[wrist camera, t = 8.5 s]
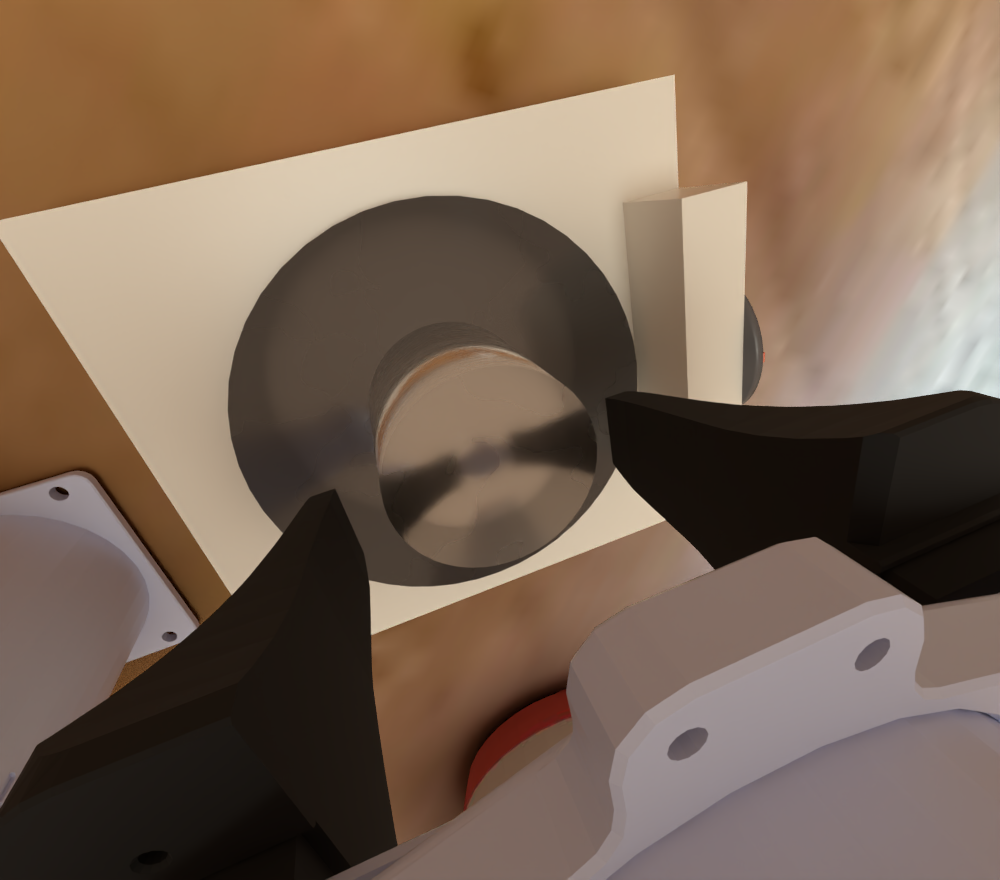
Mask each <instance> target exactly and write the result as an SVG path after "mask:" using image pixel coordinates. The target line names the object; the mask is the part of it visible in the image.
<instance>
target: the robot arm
mask: <svg viewBox="0 0 1000 880" xmlns="http://www.w3.org/2000/svg"><path fill="white" fill-rule="evenodd" d="M605 403H606V411H607V419H608V427H609V436H610V444H611V452H612V461H613V464H614V466H615V467H616V468H617V470H618V471H619V472H620V474H621V475H622V476H623V478H624V479H625V480H626V481H627V483H628V484H629V485H630V486H631V487H632V489H633V490H634V491H635V492H636V493H637V494H638V495H639V496H641V497H642V498H643V499H644V500H645V501H646V502H647V503H648V504H649V505H650V506H651V507H652V508H653V509H654V510H655V511H657V512H658V513H659V514H660V515H661V516H662V517H663V518H664V519H665V520H666V521H667V522H668V523H670V524H671V525H672V526H673V527H674V528H675V529H676V530H677V531H678V532H679V533H680V534H682V535H683V536H684V537H685V538H686V539H687V540H688V541H689V542H690V543H691V544H692V545H693V546H694V547H695V548H696V549H697V550H698V551H699V552H700V553H701V554H702V555H703V557H704V558H705V559H706V560H707V561H708V562H709V564H710V565H711V566H712V567H713V568H714V569H715V570H714V571H711V572H709V573H706V574H704V575H702V576H699V577H697V578H694V579H692V580H690V581H687V582H685V583H683V584H680V585H678V586H675V587H673V588H671V589H668V590H666V591H663V592H661V593H659V594H656V595H654V596H651V597H649V598H647V599H644V600H642V601H640V602H637V603H635V604H632V605H630V606H628V607H626V608H624V609H623V610H621V611H620V612H618V613H616V614H615V615H613V616H612V617H610V618H609V619H607V620H606V621H604V622H603V623H601V624H600V625H598V626H596V627H595V628H594V629H593V631H592V632H591V633H590V635H589V636H588V637H587V639H586V640H585V641H584V643H583V644H582V645H581V647H580V648H579V650H578V651H577V652H576V654H575V655H574V656H573V658H572V660H571V662H570V667H569V675H568V682H567V689H566V695H567V699H568V703H569V708H570V712H571V716H572V723H573V732H571V733H570V734H569V735H567V736H566V737H565V738H563V739H562V740H560V741H559V742H558V743H556V744H555V745H554V746H552V747H551V748H550V749H548V750H547V751H545V752H544V753H543V754H541V755H540V756H539V757H537V758H536V759H535V760H533V761H532V762H530V763H529V764H528V765H526V766H525V767H524V768H522V769H521V770H520V771H518V772H517V773H515V774H514V775H513V776H511V777H510V778H509V779H507V780H506V781H505V782H503V783H502V784H500V785H499V786H498V787H496V788H495V789H494V790H492V791H491V792H490V793H488V794H487V795H486V796H484V797H483V798H481V799H480V800H479V801H477V802H476V803H475V804H473V805H472V806H471V807H469V808H468V809H466V810H465V811H464V812H462V813H461V814H460V815H458V816H457V817H456V818H454V819H453V820H451V821H449V822H447V823H445V824H443V825H441V826H439V827H437V828H434V829H432V830H430V831H428V832H426V833H424V834H422V835H420V836H417V837H415V838H413V839H411V840H409V841H407V842H405V843H403V844H400V845H398V846H397V840H396V835H395V829H394V823H393V817H392V811H391V805H390V799H389V793H388V787H387V781H386V775H385V769H384V762H383V755H382V748H381V742H380V735H379V728H378V721H377V713H376V706H375V698H374V691H373V680H372V656H371V607H370V585H369V579H368V572H367V567H366V561H365V555H364V552H363V550H362V547H361V545H360V543H359V541H358V538H357V536H356V534H355V532H354V530H353V527H352V525H351V523H350V521H349V518H348V516H347V514H346V512H345V509H344V507H343V505H342V503H341V500H340V498H339V496H338V494H337V492H336V489H332V490H329V491H326V492H323V493H320V494H317V495H314V496H311V497H309V498H308V500H307V501H306V502H305V503H304V505H303V506H302V507H301V509H300V510H299V512H298V513H297V514H296V516H295V517H294V519H293V520H292V522H291V523H290V524H289V526H288V527H287V528H286V530H285V531H284V533H283V534H282V535H281V537H280V538H279V539H278V541H277V542H276V544H275V545H274V546H273V548H272V549H271V550H270V551H269V552H268V554H267V555H266V556H265V557H264V559H263V560H262V561H261V562H260V564H259V565H258V566H257V567H256V568H255V570H254V571H253V572H252V573H251V575H250V576H249V577H248V578H247V579H246V580H245V581H244V583H243V584H242V585H241V586H240V587H239V588H238V589H237V590H236V591H235V592H234V593H233V594H232V595H231V596H230V597H229V598H228V599H227V600H226V601H225V602H224V603H223V605H222V606H221V607H220V608H219V609H218V610H216V611H215V612H214V613H213V614H212V615H211V616H210V617H209V618H208V619H207V620H206V621H204V622H203V623H202V624H201V625H200V626H199V622H198V620H197V619H196V617H195V616H194V615H193V613H192V612H191V610H190V609H189V608H188V606H187V605H186V604H185V602H184V601H183V599H182V598H181V597H180V595H179V594H178V592H177V591H176V590H175V588H174V587H173V585H172V584H171V583H170V581H169V580H168V578H167V577H166V576H165V574H164V573H163V572H162V570H161V569H160V567H159V566H158V565H157V563H156V562H155V560H154V559H153V558H152V556H151V555H150V553H149V552H148V551H147V549H146V548H145V546H144V545H143V544H142V542H141V541H140V540H139V538H138V537H137V535H136V534H135V533H134V531H133V530H132V528H131V527H130V526H129V524H128V523H127V521H126V520H125V519H124V517H123V516H122V514H121V513H120V512H119V510H118V509H117V508H116V506H115V505H114V503H113V502H112V501H111V499H110V498H109V496H108V495H107V494H106V492H105V491H104V489H103V488H102V487H101V485H100V484H99V482H98V481H97V480H96V479H95V478H94V477H93V476H92V475H91V474H89V473H87V472H84V471H71V472H68V473H64V474H61V475H58V476H55V477H51V478H48V479H45V480H41V481H38V482H35V483H31V484H28V485H25V486H21V487H18V488H15V489H11V490H8V491H5V492H1V493H0V880H1000V399H999V398H995V397H991V396H987V395H984V394H980V393H976V392H972V391H962V390H959V391H952V392H945V393H939V394H932V395H926V396H919V397H913V398H906V399H900V400H892V401H882V402H872V403H863V404H851V405H837V406H811V407H773V406H749V405H736V404H727V403H717V402H709V401H701V400H694V399H687V398H680V397H674V396H667V395H661V394H654V393H646V392H636V391H625V392H622V393H619V394H616V395H613V396H610V397H607V398H605ZM55 487H62V488H64V489H66V490H67V491H68V493H69V495H63V494H60V493H59V492H57V491H56V489H55ZM167 632H174V633H176V634H168V633H167ZM178 643H180V644H178ZM176 644H178V645H177V646H176V647H175V648H174V649H173V650H171V651H170V652H169V653H168V654H166V655H165V656H164V657H163V658H161V659H160V660H159V661H157V662H156V663H155V664H154V665H152V666H151V667H150V668H149V669H147V670H146V671H145V672H143V673H142V674H141V675H139V676H138V677H136V678H135V679H134V680H132V681H131V682H130V683H128V684H127V685H126V686H124V687H123V688H122V689H120V690H119V691H117V692H116V693H115V694H113V695H112V696H110V694H111V692H112V690H113V688H114V686H115V684H116V682H117V680H118V678H119V676H120V674H121V671H122V669H123V667H124V665H125V663H127V662H129V661H132V660H135V659H137V658H140V657H143V656H146V655H148V654H151V653H154V652H157V651H159V650H162V649H165V648H167V647H170V646H173V645H176ZM109 696H110V697H109Z"/></svg>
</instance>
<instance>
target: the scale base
mask: <svg viewBox="0 0 1000 880" xmlns="http://www.w3.org/2000/svg"><path fill="white" fill-rule="evenodd" d="M423 196H464V197H472V198H479V199H486V200H491V201H494V202H498V203H501V204H504V205H508V206H511V207H515V208H518V209H520V210H522V211H524V212H526V213H529V214H531V215H533V216H535V217H537V218H539V219H541V220H544V221H545V222H547V223H548V224H550V225H551V226H553V227H554V228H556V229H557V230H559V231H560V232H562V233H563V234H565V235H566V236H568V237H569V238H570V239H571V240H572V241H573V242H574V243H575V244H577V245H578V246H579V247H580V248H581V249H582V250H583V251H584V252H585V253H587V254H588V256H589V257H590V258H591V259H592V260H593V262H594V263H595V264H596V265H597V266H598V268H599V269H600V270H601V271H602V272H603V274H604V275H605V277H606V278H607V280H608V282H609V283H610V285H611V287H612V288H613V290H614V291H615V293H616V295H617V297H618V299H619V301H620V303H621V306H622V308H623V310H624V313H625V315H626V317H627V320H628V324H629V327H630V331H631V334H632V338H633V342H634V348H635V355H636V362H637V392H646V393H654V394H661V395H667V396H674V397H680V398H687V399H694V400H701V401H709V402H717V403H727V404H736V405H742V404H744V403H745V402H746V401H747V400H749V398H750V397H751V396H752V395H753V393H754V391H755V390H756V388H757V386H758V383H759V380H760V377H761V372H762V366H763V362H765V352H763V344H762V337H761V332H760V327H759V324H758V321H757V318H756V315H755V313H754V311H753V308H752V306H751V304H750V303H749V301H748V299H747V297H746V296H745V295H744V293H745V252H746V210H747V181H745V182H735V183H725V184H715V185H705V186H695V187H684V188H678V162H677V133H676V105H675V76H674V75H671V76H666V77H661V78H657V79H652V80H647V81H643V82H638V83H634V84H629V85H624V86H620V87H615V88H610V89H606V90H601V91H596V92H592V93H587V94H583V95H578V96H573V97H569V98H564V99H559V100H555V101H550V102H545V103H541V104H536V105H532V106H527V107H522V108H518V109H513V110H508V111H504V112H499V113H494V114H490V115H485V116H481V117H476V118H471V119H467V120H462V121H457V122H453V123H448V124H444V125H439V126H434V127H430V128H425V129H420V130H416V131H411V132H406V133H402V134H397V135H393V136H388V137H383V138H379V139H374V140H369V141H365V142H360V143H355V144H351V145H346V146H342V147H337V148H332V149H328V150H323V151H318V152H314V153H309V154H304V155H300V156H295V157H291V158H286V159H281V160H277V161H272V162H267V163H263V164H258V165H253V166H249V167H244V168H240V169H235V170H230V171H226V172H221V173H216V174H212V175H207V176H202V177H198V178H193V179H189V180H184V181H179V182H175V183H170V184H165V185H161V186H156V187H151V188H147V189H142V190H138V191H133V192H128V193H124V194H119V195H114V196H110V197H105V198H100V199H96V200H91V201H87V202H82V203H77V204H73V205H68V206H63V207H59V208H54V209H49V210H45V211H40V212H36V213H31V214H26V215H22V216H17V217H12V218H8V219H3V220H0V239H1V241H2V242H3V244H4V245H5V247H6V249H7V250H8V252H9V253H10V255H11V256H12V258H13V259H14V261H15V262H16V264H17V265H18V267H19V269H20V270H21V272H22V273H23V275H24V276H25V278H26V279H27V281H28V282H29V284H30V285H31V287H32V289H33V290H34V292H35V293H36V295H37V296H38V298H39V299H40V301H41V302H42V304H43V306H44V307H45V309H46V310H47V312H48V313H49V315H50V316H51V318H52V319H53V321H54V322H55V324H56V326H57V327H58V329H59V330H60V332H61V333H62V335H63V336H64V338H65V339H66V341H67V342H68V344H69V346H70V347H71V349H72V350H73V352H74V353H75V355H76V356H77V358H78V359H79V361H80V362H81V364H82V366H83V367H84V369H85V370H86V372H87V373H88V375H89V376H90V378H91V379H92V381H93V383H94V384H95V386H96V387H97V389H98V390H99V392H100V393H101V395H102V396H103V398H104V399H105V401H106V403H107V404H108V406H109V407H110V409H111V410H112V412H113V413H114V415H115V416H116V418H117V419H118V421H119V423H120V424H121V426H122V427H123V429H124V430H125V432H126V433H127V435H128V436H129V438H130V440H131V441H132V443H133V444H134V446H135V447H136V449H137V450H138V452H139V453H140V455H141V456H142V458H143V460H144V461H145V463H146V464H147V466H148V467H149V469H150V470H151V472H152V473H153V475H154V476H155V478H156V480H157V481H158V483H159V484H160V486H161V487H162V489H163V490H164V492H165V493H166V495H167V497H168V498H169V500H170V501H171V503H172V504H173V506H174V507H175V509H176V510H177V512H178V513H179V515H180V517H181V518H182V520H183V521H184V523H185V524H186V526H187V527H188V529H189V530H190V532H191V533H192V535H193V537H194V538H195V540H196V541H197V543H198V544H199V546H200V547H201V549H202V550H203V552H204V553H205V555H206V557H207V558H208V560H209V561H210V563H211V564H212V566H213V567H214V569H215V570H216V572H217V574H218V575H219V577H220V578H221V580H222V581H223V583H224V584H225V586H226V587H227V589H228V590H229V592H230V594H231V595H232V594H233V593H234V592H235V591H236V590H237V589H238V588H239V587H240V586H241V585H242V584H243V583H244V581H245V580H246V579H247V578H248V577H249V576H250V575H251V573H252V572H253V571H254V570H255V568H256V567H257V566H258V565H259V564H260V562H261V561H262V560H263V559H264V557H265V556H266V555H267V554H268V552H269V551H270V550H271V549H272V548H273V546H274V545H275V544H276V542H277V541H278V539H279V538H280V537H281V535H282V534H283V533H282V532H281V531H280V530H279V529H278V527H277V526H276V525H275V524H274V523H273V522H272V521H271V519H270V518H269V517H268V516H267V515H266V514H265V513H264V511H263V510H262V508H261V507H260V505H259V504H258V502H257V500H256V499H255V497H254V496H253V494H252V493H251V491H250V490H249V487H248V485H247V483H246V481H245V479H244V476H243V474H242V472H241V470H240V468H239V465H238V462H237V458H236V455H235V451H234V448H233V444H232V441H231V435H230V426H229V418H228V386H229V377H230V372H231V367H232V362H233V356H234V351H235V349H236V346H237V343H238V340H239V338H240V335H241V332H242V329H243V327H244V324H245V321H246V320H247V318H248V316H249V314H250V312H251V311H252V309H253V307H254V305H255V303H256V302H257V300H258V298H259V296H260V294H261V293H262V292H263V290H264V289H265V288H266V286H267V285H268V284H269V283H270V281H271V280H272V279H273V277H274V276H275V275H276V274H277V272H278V271H279V270H280V268H281V267H282V266H283V265H285V264H286V263H287V262H288V261H289V260H290V259H291V258H292V257H293V256H294V255H295V254H296V253H297V252H298V251H299V250H300V249H301V248H302V247H304V246H305V245H306V244H307V243H309V242H310V241H312V240H313V239H314V238H316V237H317V236H319V235H320V234H322V233H323V232H325V231H326V230H327V229H329V228H330V227H332V226H333V225H335V224H337V223H340V222H342V221H344V220H346V219H348V218H350V217H352V216H354V215H356V214H358V213H360V212H362V211H365V210H368V209H371V208H374V207H377V206H380V205H384V204H387V203H390V202H393V201H398V200H404V199H411V198H417V197H423ZM663 521H665V519H664V518H663V517H662V516H661V515H660V514H659V513H658V512H657V511H655V510H654V509H653V508H652V507H651V506H650V505H649V504H648V503H647V502H646V501H645V500H644V499H643V498H642V497H641V496H639V495H638V494H637V493H636V492H635V491H634V490H633V489H632V487H631V486H630V485H629V484H628V483H627V481H626V480H625V479H624V478H623V476H622V475H621V474H620V472H619V471H618V470H617V468H615V470H614V472H613V474H612V476H611V477H610V479H609V481H608V482H607V484H606V486H605V487H604V489H603V491H602V492H601V493H600V495H599V496H598V497H597V499H596V500H595V501H594V502H593V504H592V505H591V506H590V508H589V509H588V510H587V511H586V512H585V513H584V514H583V515H582V516H581V518H580V519H579V520H578V521H577V522H576V523H575V524H574V525H573V526H572V527H571V528H569V529H568V530H567V531H566V532H565V533H564V534H562V535H561V536H560V537H559V538H558V539H557V540H555V541H554V542H552V543H551V544H550V545H548V546H547V547H545V548H544V549H543V550H541V551H540V552H538V553H536V554H535V555H533V556H531V557H529V558H528V559H526V560H524V561H522V562H521V563H519V564H516V565H514V566H512V567H510V568H507V569H505V570H503V571H501V572H498V573H495V574H492V575H489V576H486V577H483V578H480V579H476V580H472V581H467V582H462V583H458V584H451V585H442V586H430V587H409V586H399V585H389V584H384V583H379V582H375V581H370V580H369V585H370V607H371V635H372V634H375V633H378V632H380V631H383V630H385V629H388V628H390V627H393V626H396V625H398V624H401V623H403V622H406V621H408V620H411V619H414V618H416V617H419V616H421V615H424V614H426V613H429V612H432V611H434V610H437V609H439V608H442V607H444V606H447V605H449V604H452V603H455V602H457V601H460V600H462V599H465V598H467V597H470V596H473V595H475V594H478V593H480V592H483V591H485V590H488V589H491V588H493V587H496V586H498V585H501V584H503V583H506V582H509V581H511V580H514V579H516V578H519V577H521V576H524V575H526V574H529V573H532V572H534V571H537V570H539V569H542V568H544V567H547V566H550V565H552V564H555V563H557V562H560V561H562V560H565V559H568V558H570V557H573V556H575V555H578V554H580V553H583V552H586V551H588V550H591V549H593V548H596V547H598V546H601V545H603V544H606V543H609V542H611V541H614V540H616V539H619V538H621V537H624V536H627V535H629V534H632V533H634V532H637V531H639V530H642V529H645V528H647V527H650V526H652V525H655V524H657V523H660V522H663Z"/></svg>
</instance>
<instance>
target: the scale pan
mask: <svg viewBox="0 0 1000 880" xmlns="http://www.w3.org/2000/svg"><path fill="white" fill-rule="evenodd" d="M441 322H463V323H469V324H473V325H476V326H479V327H482V328H484V329H486V330H488V331H490V332H492V333H493V334H495V335H497V336H498V337H499V338H501V339H502V340H503V341H505V342H506V343H507V344H509V345H510V346H512V347H513V348H514V349H516V350H517V351H518V352H520V353H521V354H523V355H524V356H525V357H527V358H528V359H529V360H531V361H532V362H533V363H535V364H536V365H538V366H539V367H540V368H542V369H543V370H544V371H546V372H547V373H548V374H550V375H551V376H553V377H554V378H555V379H557V380H558V381H559V382H561V383H562V384H563V385H565V386H566V387H567V388H568V389H569V390H571V391H572V392H573V393H574V394H575V396H576V397H577V398H578V399H579V400H580V401H581V403H582V404H583V406H584V407H585V409H586V411H587V412H588V415H589V417H590V419H591V421H592V424H593V427H594V431H595V435H596V442H597V463H596V470H595V475H594V478H593V482H592V485H591V488H590V490H589V492H588V495H587V497H586V499H585V501H584V502H583V504H582V506H581V508H580V509H579V511H578V512H577V514H576V515H575V516H574V518H573V519H572V520H571V521H570V522H569V524H568V525H567V526H566V527H565V528H564V529H563V530H562V531H561V532H560V533H559V534H558V535H557V536H556V537H554V538H553V539H552V540H550V541H549V542H548V543H547V544H545V545H544V546H542V547H540V548H539V549H537V550H536V551H534V552H532V553H530V554H528V555H526V556H524V557H522V558H519V559H516V560H514V561H511V562H508V563H504V564H500V565H496V566H489V567H477V568H468V567H457V566H452V565H447V564H444V563H441V562H437V561H434V560H432V559H430V558H428V557H426V556H424V555H422V554H421V553H419V552H418V551H416V550H415V549H413V548H412V547H411V546H410V545H409V544H408V543H406V542H405V541H404V540H403V539H402V538H401V536H400V535H399V534H398V533H397V531H396V530H395V529H394V527H393V525H392V523H391V522H390V520H389V518H388V516H387V513H386V510H385V508H384V504H383V499H382V495H381V489H380V482H379V475H378V468H377V462H376V455H375V448H374V441H373V435H372V428H371V421H370V415H369V402H368V400H369V390H370V385H371V381H372V378H373V375H374V373H375V370H376V368H377V367H378V365H379V363H380V361H381V360H382V358H383V357H384V356H385V354H386V353H387V351H388V350H389V349H390V348H391V347H392V346H393V345H394V344H395V343H397V342H398V341H399V340H400V339H402V338H403V337H404V336H406V335H408V334H409V333H411V332H413V331H414V330H417V329H419V328H422V327H424V326H427V325H431V324H434V323H441ZM625 391H636V392H637V362H636V355H635V348H634V342H633V338H632V334H631V331H630V327H629V324H628V320H627V317H626V315H625V313H624V310H623V308H622V306H621V303H620V301H619V299H618V297H617V295H616V293H615V291H614V290H613V288H612V287H611V285H610V283H609V282H608V280H607V278H606V277H605V275H604V274H603V272H602V271H601V270H600V269H599V268H598V266H597V265H596V264H595V263H594V262H593V260H592V259H591V258H590V257H589V256H588V254H587V253H585V252H584V251H583V250H582V249H581V248H580V247H579V246H578V245H577V244H575V243H574V242H573V241H572V240H571V239H570V238H569V237H568V236H566V235H565V234H563V233H562V232H560V231H559V230H557V229H556V228H554V227H553V226H551V225H550V224H548V223H547V222H545V221H544V220H541V219H539V218H537V217H535V216H533V215H531V214H529V213H526V212H524V211H522V210H520V209H518V208H515V207H511V206H508V205H504V204H501V203H498V202H494V201H491V200H486V199H479V198H472V197H464V196H423V197H417V198H411V199H404V200H398V201H393V202H390V203H387V204H384V205H380V206H377V207H374V208H371V209H368V210H365V211H362V212H360V213H358V214H356V215H354V216H352V217H350V218H348V219H346V220H344V221H342V222H340V223H337V224H335V225H333V226H332V227H330V228H329V229H327V230H326V231H325V232H323V233H322V234H320V235H319V236H317V237H316V238H314V239H313V240H312V241H310V242H309V243H307V244H306V245H305V246H304V247H302V248H301V249H300V250H299V251H298V252H297V253H296V254H295V255H294V256H293V257H292V258H291V259H290V260H289V261H288V262H287V263H286V264H285V265H283V266H282V267H281V268H280V270H279V271H278V272H277V274H276V275H275V276H274V277H273V279H272V280H271V281H270V283H269V284H268V285H267V286H266V288H265V289H264V290H263V292H262V293H261V294H260V296H259V298H258V300H257V302H256V303H255V305H254V307H253V309H252V311H251V312H250V314H249V316H248V318H247V320H246V321H245V324H244V327H243V329H242V332H241V335H240V338H239V340H238V343H237V346H236V349H235V351H234V356H233V362H232V367H231V372H230V377H229V386H228V418H229V426H230V435H231V441H232V444H233V448H234V451H235V455H236V458H237V462H238V465H239V468H240V470H241V472H242V474H243V476H244V479H245V481H246V483H247V485H248V487H249V490H250V491H251V493H252V494H253V496H254V497H255V499H256V500H257V502H258V504H259V505H260V507H261V508H262V510H263V511H264V513H265V514H266V515H267V516H268V517H269V518H270V519H271V521H272V522H273V523H274V524H275V525H276V526H277V527H278V529H279V530H280V531H281V532H282V533H284V531H285V530H286V528H287V527H288V526H289V524H290V523H291V522H292V520H293V519H294V517H295V516H296V514H297V513H298V512H299V510H300V509H301V507H302V506H303V505H304V503H305V502H306V501H307V500H308V498H309V497H311V496H314V495H317V494H320V493H323V492H326V491H329V490H332V489H336V492H337V494H338V496H339V498H340V500H341V503H342V505H343V507H344V509H345V512H346V514H347V516H348V518H349V521H350V523H351V525H352V527H353V530H354V532H355V534H356V536H357V538H358V541H359V543H360V545H361V547H362V550H363V552H364V555H365V561H366V567H367V572H368V579H369V580H370V581H375V582H379V583H384V584H389V585H399V586H409V587H430V586H442V585H451V584H458V583H462V582H467V581H472V580H476V579H480V578H483V577H486V576H489V575H492V574H495V573H498V572H501V571H503V570H505V569H507V568H510V567H512V566H514V565H516V564H519V563H521V562H522V561H524V560H526V559H528V558H529V557H531V556H533V555H535V554H536V553H538V552H540V551H541V550H543V549H544V548H545V547H547V546H548V545H550V544H551V543H552V542H554V541H555V540H557V539H558V538H559V537H560V536H561V535H562V534H564V533H565V532H566V531H567V530H568V529H569V528H571V527H572V526H573V525H574V524H575V523H576V522H577V521H578V520H579V519H580V518H581V516H582V515H583V514H584V513H585V512H586V511H587V510H588V509H589V508H590V506H591V505H592V504H593V502H594V501H595V500H596V499H597V497H598V496H599V495H600V493H601V492H602V491H603V489H604V487H605V486H606V484H607V482H608V481H609V479H610V477H611V476H612V474H613V472H614V470H615V468H616V467H615V466H614V464H613V461H612V452H611V444H610V436H609V427H608V419H607V411H606V403H605V398H607V397H610V396H613V395H616V394H619V393H622V392H625Z"/></svg>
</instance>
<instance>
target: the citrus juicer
mask: <svg viewBox="0 0 1000 880" xmlns="http://www.w3.org/2000/svg"><path fill="white" fill-rule="evenodd" d="M571 732H573V723H572V716H571V712H570V708H569V703H568V699H567V695H566V689H564V690H561V691H559V692H557V693H556V694H554V695H550V696H548V697H546V698H544V699H541V700H539V701H537V702H535V703H532V704H531V705H529V706H527V707H526V708H524V709H522V710H521V711H519V712H517V713H516V714H514V715H513V716H512V717H511V718H509V719H508V720H507V721H505V722H504V723H503V724H502V725H500V726H499V727H498V728H497V729H496V730H495V731H494V732H493V733H492V734H491V736H490V737H489V738H488V739H487V740H486V741H485V743H484V744H483V745H482V747H481V748H480V750H479V751H478V752H477V754H476V756H475V759H474V761H473V763H472V765H471V768H470V773H469V778H468V784H467V790H466V796H465V803H464V811H465V810H466V809H468V808H469V807H471V806H472V805H473V804H475V803H476V802H477V801H479V800H480V799H481V798H483V797H484V796H486V795H487V794H488V793H490V792H491V791H492V790H494V789H495V788H496V787H498V786H499V785H500V784H502V783H503V782H505V781H506V780H507V779H509V778H510V777H511V776H513V775H514V774H515V773H517V772H518V771H520V770H521V769H522V768H524V767H525V766H526V765H528V764H529V763H530V762H532V761H533V760H535V759H536V758H537V757H539V756H540V755H541V754H543V753H544V752H545V751H547V750H548V749H550V748H551V747H552V746H554V745H555V744H556V743H558V742H559V741H560V740H562V739H563V738H565V737H566V736H567V735H569V734H570V733H571Z"/></svg>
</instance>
